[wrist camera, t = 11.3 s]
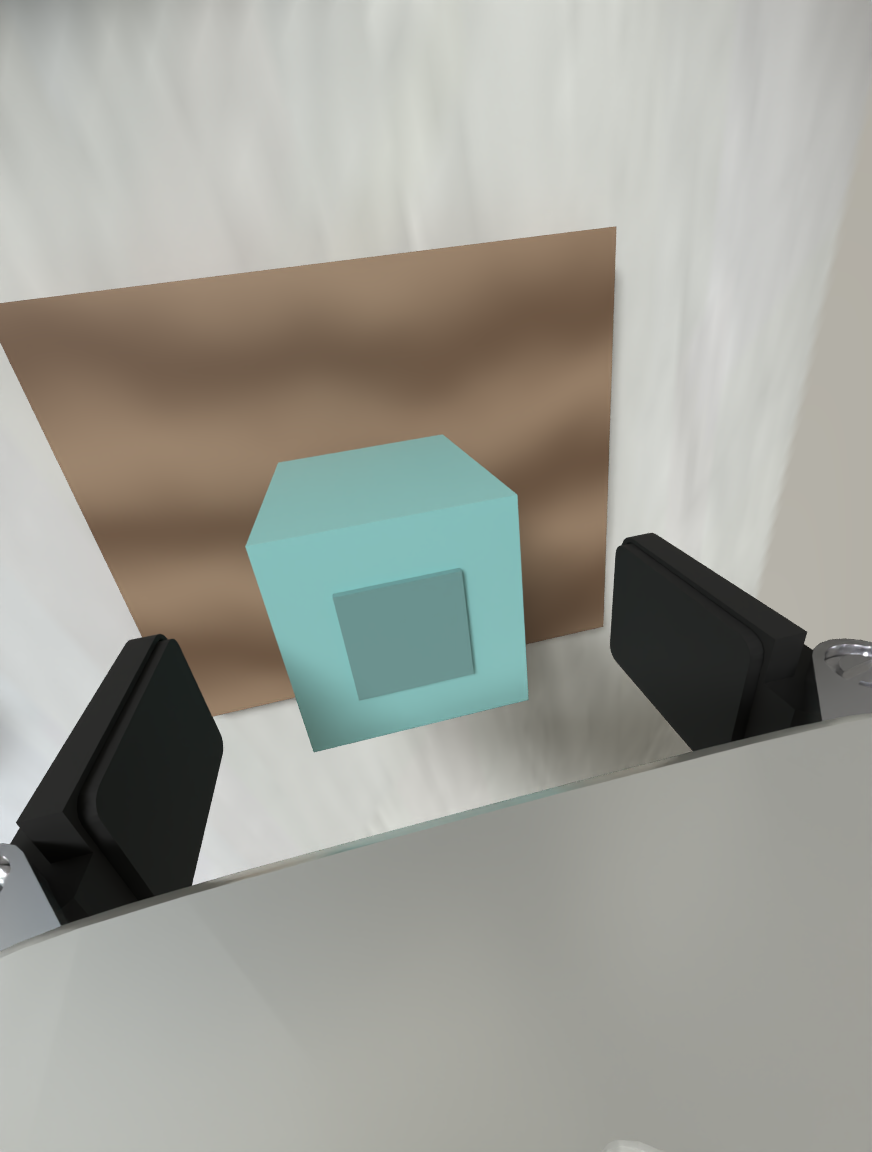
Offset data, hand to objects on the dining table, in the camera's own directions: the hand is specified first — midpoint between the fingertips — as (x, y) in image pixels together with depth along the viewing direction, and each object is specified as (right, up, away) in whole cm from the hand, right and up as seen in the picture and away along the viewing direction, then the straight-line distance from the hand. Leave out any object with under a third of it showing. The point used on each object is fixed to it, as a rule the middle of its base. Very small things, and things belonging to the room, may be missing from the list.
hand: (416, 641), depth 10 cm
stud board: (-3, +5, +13) cm, 14 cm away
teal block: (-2, +3, +9) cm, 9 cm away
